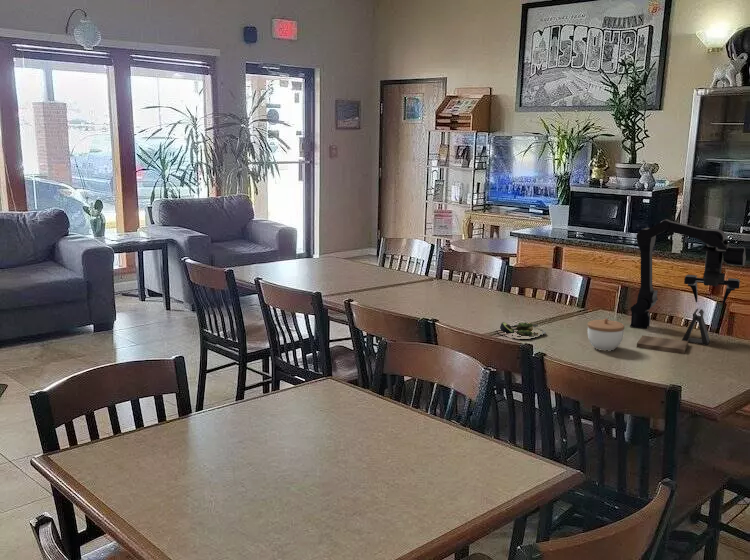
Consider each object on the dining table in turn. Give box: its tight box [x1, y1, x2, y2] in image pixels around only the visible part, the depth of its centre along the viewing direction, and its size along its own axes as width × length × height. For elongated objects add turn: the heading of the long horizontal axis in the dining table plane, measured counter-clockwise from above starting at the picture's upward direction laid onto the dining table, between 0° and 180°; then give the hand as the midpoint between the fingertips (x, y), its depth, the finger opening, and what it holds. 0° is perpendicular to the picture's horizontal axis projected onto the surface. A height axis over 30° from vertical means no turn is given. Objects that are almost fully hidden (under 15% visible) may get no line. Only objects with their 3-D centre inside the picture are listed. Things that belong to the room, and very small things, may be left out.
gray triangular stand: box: [681, 308, 711, 346], centre depth 263 cm, size 9×6×12 cm, turn 58°
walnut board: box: [636, 335, 689, 355], centre depth 258 cm, size 16×12×2 cm
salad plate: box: [500, 321, 546, 337], centre depth 276 cm, size 19×18×5 cm
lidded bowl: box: [587, 318, 625, 352], centre depth 255 cm, size 13×13×11 cm
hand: (709, 303), depth 268 cm, fingers open, 9 cm apart
